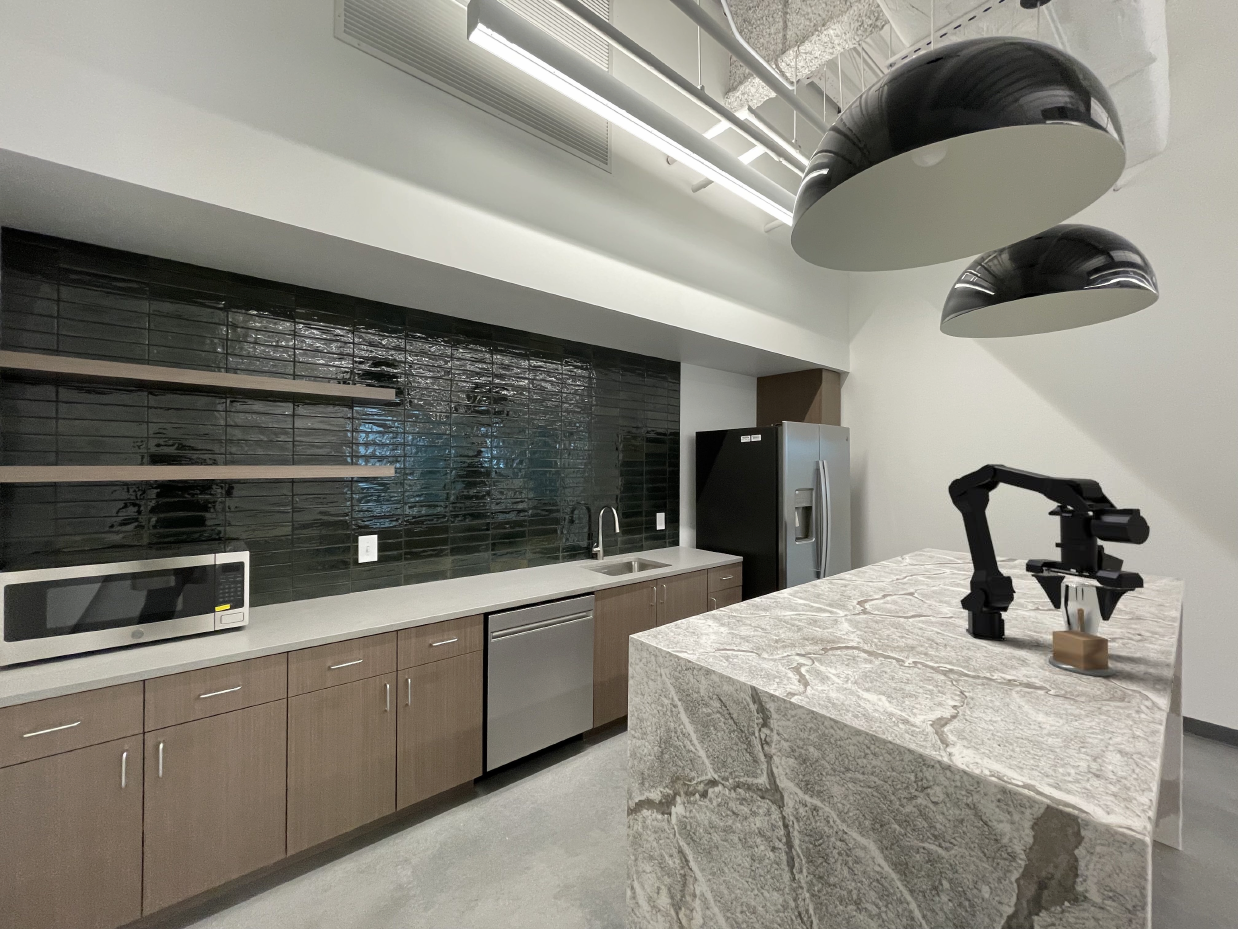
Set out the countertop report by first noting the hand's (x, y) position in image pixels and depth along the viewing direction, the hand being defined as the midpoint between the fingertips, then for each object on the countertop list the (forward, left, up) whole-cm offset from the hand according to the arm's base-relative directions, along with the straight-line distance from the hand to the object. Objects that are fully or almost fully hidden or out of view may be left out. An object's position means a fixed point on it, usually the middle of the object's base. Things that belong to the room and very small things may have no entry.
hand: (1080, 614), depth 103 cm
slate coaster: (0, 0, -11) cm, 11 cm away
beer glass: (+6, +13, -11) cm, 18 cm away
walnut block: (0, 0, -10) cm, 10 cm away
